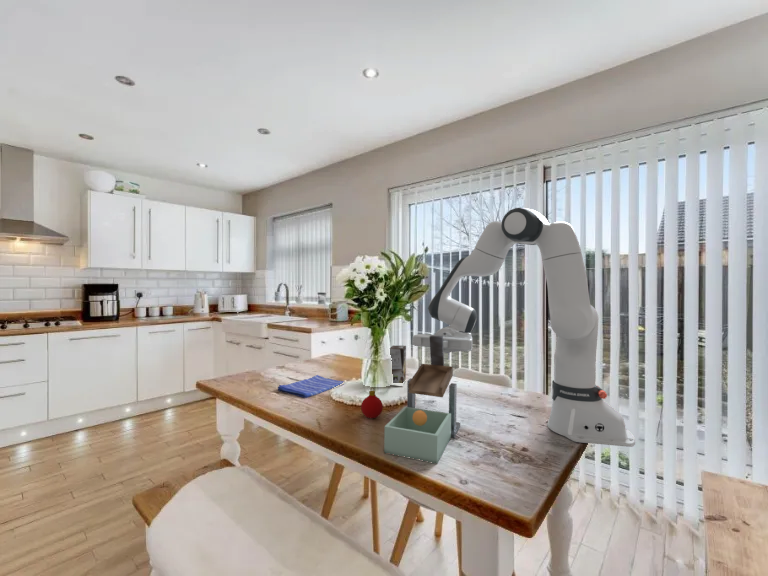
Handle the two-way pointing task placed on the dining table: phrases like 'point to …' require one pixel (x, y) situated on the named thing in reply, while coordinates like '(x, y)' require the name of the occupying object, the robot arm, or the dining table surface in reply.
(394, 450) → the tub
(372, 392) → the christmas ornament
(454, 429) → the lever stand
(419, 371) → the lever tray
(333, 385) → the dish towel
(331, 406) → the dining table surface
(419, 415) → the ball
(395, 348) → the coffee box
